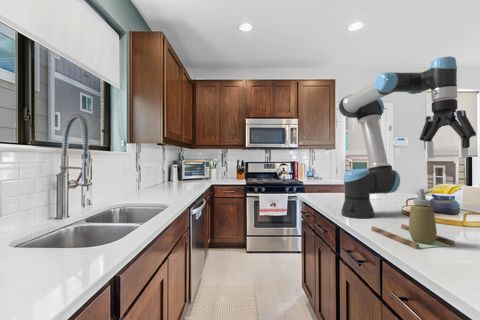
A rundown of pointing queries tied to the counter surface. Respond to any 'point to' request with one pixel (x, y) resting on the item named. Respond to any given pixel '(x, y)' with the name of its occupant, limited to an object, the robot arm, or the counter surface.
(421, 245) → the pad
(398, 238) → the rail
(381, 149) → the robot arm
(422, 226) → the squeeze bottle
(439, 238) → the rail
